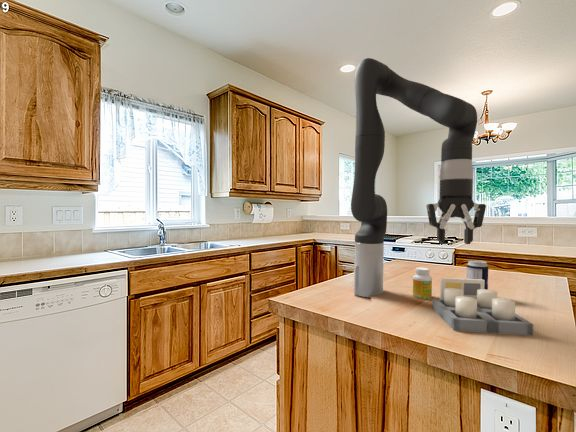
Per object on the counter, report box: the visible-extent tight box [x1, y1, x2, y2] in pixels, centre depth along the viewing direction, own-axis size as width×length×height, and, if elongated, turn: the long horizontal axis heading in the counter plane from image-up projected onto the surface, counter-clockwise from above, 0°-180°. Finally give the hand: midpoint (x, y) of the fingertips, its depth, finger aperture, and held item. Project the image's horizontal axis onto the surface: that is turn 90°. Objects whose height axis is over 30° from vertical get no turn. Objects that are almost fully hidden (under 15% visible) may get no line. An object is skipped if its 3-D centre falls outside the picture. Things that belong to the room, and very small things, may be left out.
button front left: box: [455, 296, 477, 319], centre depth 72 cm, size 4×4×4 cm
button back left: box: [444, 288, 463, 307], centre depth 80 cm, size 4×4×4 cm
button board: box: [432, 277, 534, 336], centre depth 76 cm, size 16×18×9 cm
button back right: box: [477, 289, 498, 309], centre depth 79 cm, size 4×4×4 cm
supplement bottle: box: [412, 267, 433, 300], centre depth 96 cm, size 5×5×10 cm
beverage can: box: [466, 259, 489, 290], centre depth 96 cm, size 6×6×12 cm
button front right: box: [492, 297, 516, 321], centre depth 71 cm, size 4×4×4 cm
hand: (454, 243), depth 80 cm, fingers open, 5 cm apart
